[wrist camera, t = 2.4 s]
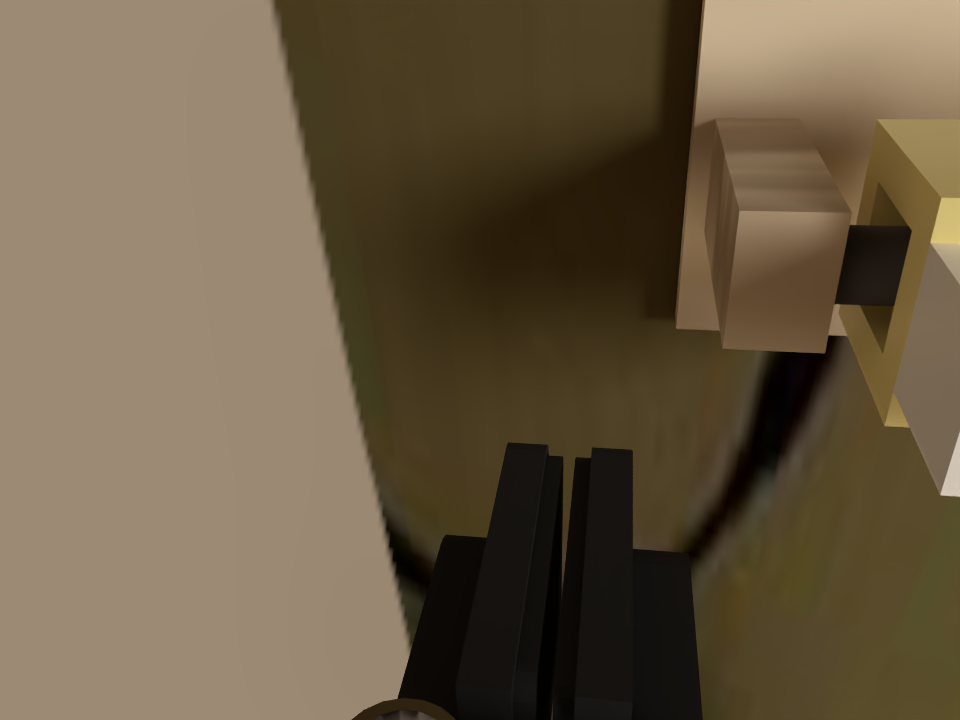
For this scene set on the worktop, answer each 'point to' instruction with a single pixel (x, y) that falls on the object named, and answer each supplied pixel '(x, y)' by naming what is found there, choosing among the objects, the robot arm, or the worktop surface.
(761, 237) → the roller holder rack
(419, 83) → the worktop surface
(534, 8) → the worktop surface
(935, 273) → the sleeve
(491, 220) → the worktop surface
